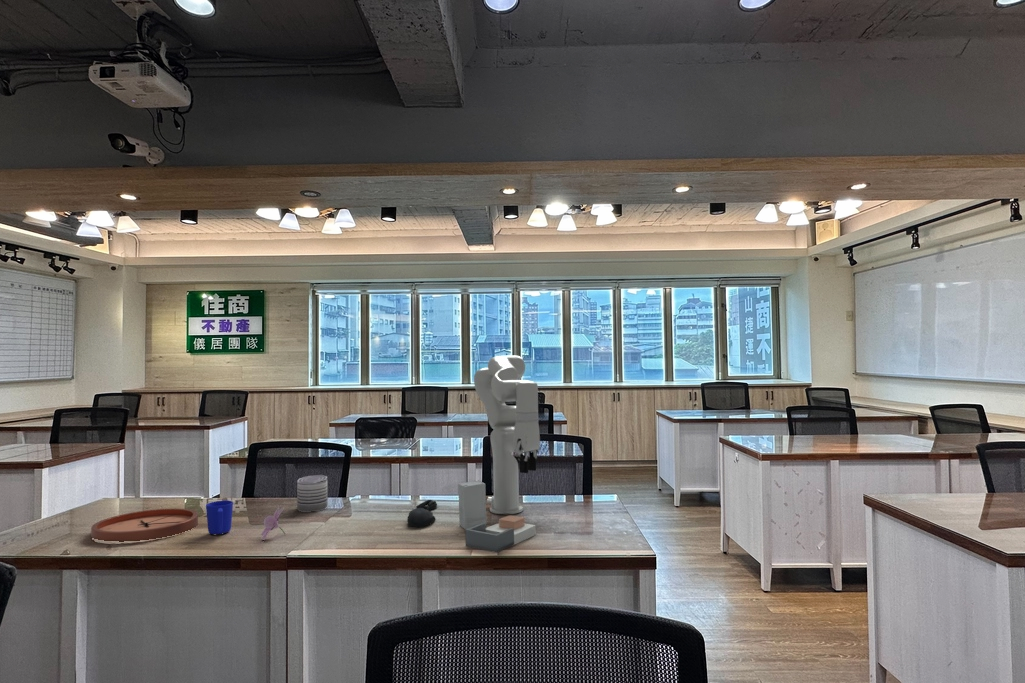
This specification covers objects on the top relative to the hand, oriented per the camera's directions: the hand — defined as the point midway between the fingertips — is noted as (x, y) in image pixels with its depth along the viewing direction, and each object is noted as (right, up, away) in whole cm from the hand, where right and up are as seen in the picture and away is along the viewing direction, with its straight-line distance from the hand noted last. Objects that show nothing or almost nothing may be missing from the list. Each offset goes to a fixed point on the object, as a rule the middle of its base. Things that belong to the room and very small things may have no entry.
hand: (528, 470), depth 202 cm
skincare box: (-19, -20, +3) cm, 28 cm away
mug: (-104, -21, -3) cm, 106 cm away
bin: (-12, -19, -19) cm, 29 cm away
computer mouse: (-38, -21, +17) cm, 46 cm away
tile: (-5, -16, -9) cm, 19 cm away
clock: (-132, -22, +3) cm, 134 cm away
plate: (-6, -19, -10) cm, 22 cm away
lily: (-84, -21, -7) cm, 87 cm away
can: (-84, -22, +31) cm, 92 cm away
